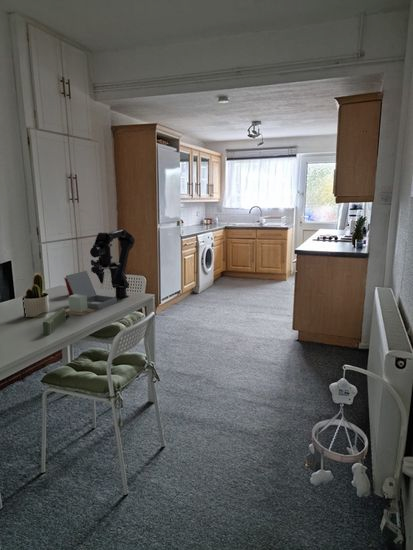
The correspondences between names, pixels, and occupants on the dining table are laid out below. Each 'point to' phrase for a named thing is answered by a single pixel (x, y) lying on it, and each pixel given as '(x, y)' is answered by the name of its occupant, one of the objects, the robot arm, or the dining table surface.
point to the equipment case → (88, 290)
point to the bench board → (79, 312)
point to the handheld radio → (54, 321)
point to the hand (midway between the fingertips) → (107, 281)
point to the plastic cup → (68, 287)
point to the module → (78, 303)
